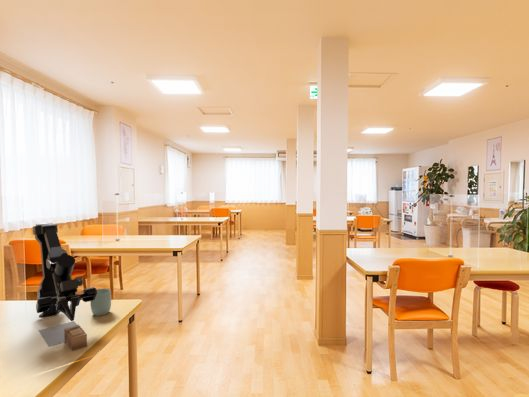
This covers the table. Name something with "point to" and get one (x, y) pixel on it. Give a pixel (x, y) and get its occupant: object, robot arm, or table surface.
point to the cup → (101, 302)
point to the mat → (55, 333)
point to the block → (75, 337)
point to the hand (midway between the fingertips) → (72, 320)
